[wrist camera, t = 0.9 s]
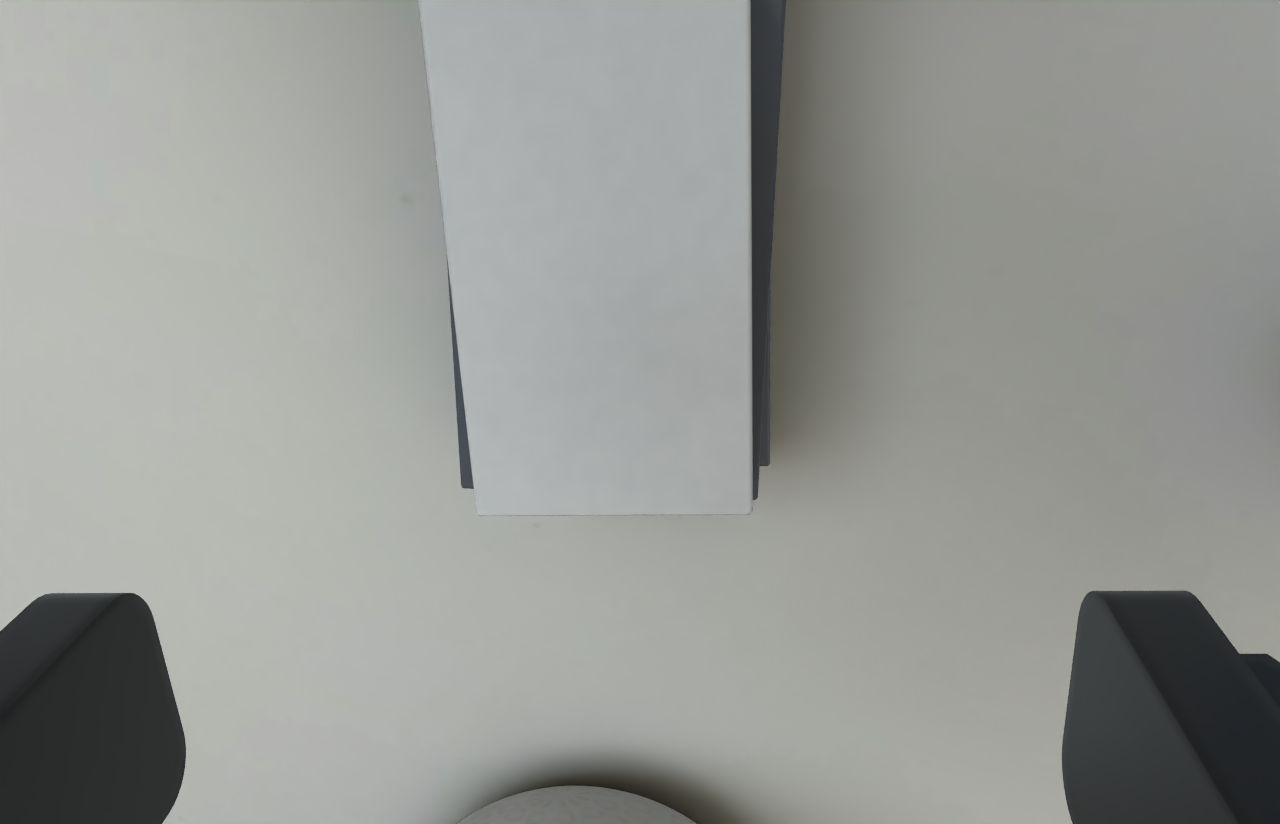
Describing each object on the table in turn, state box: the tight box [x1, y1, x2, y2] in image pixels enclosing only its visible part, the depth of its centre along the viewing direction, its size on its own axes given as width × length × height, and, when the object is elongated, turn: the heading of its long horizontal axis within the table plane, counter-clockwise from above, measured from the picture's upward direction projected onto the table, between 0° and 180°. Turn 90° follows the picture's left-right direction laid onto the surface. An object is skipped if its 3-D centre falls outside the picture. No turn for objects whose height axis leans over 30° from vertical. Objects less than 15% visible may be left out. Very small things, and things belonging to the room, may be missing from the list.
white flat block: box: [418, 0, 753, 516], centre depth 22 cm, size 12×6×2 cm, turn 3°
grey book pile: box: [447, 0, 786, 500], centre depth 24 cm, size 13×8×3 cm, turn 2°
